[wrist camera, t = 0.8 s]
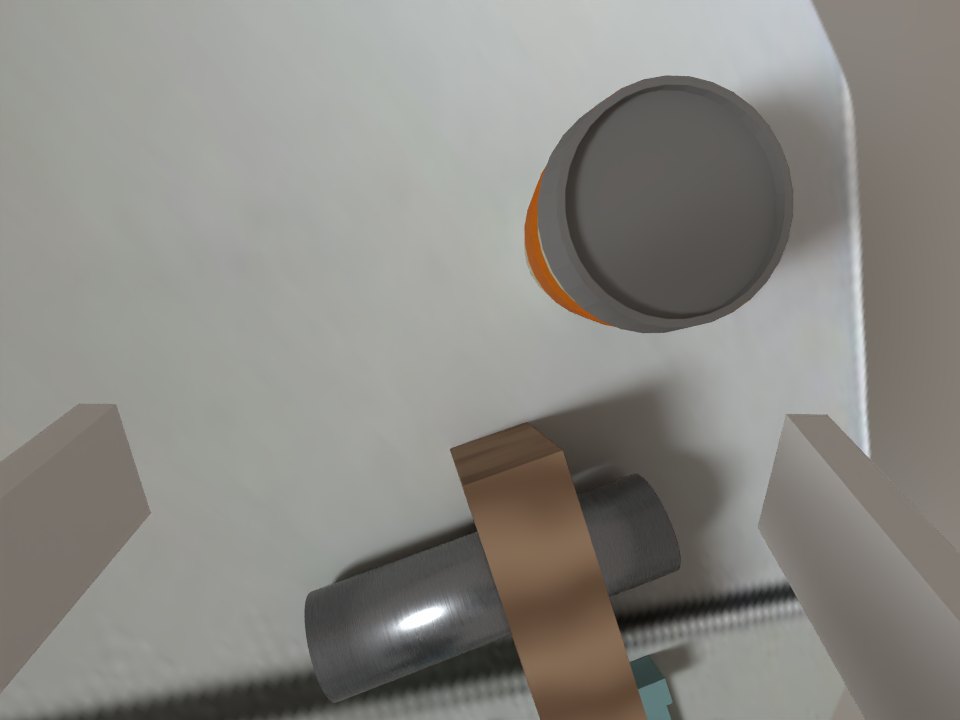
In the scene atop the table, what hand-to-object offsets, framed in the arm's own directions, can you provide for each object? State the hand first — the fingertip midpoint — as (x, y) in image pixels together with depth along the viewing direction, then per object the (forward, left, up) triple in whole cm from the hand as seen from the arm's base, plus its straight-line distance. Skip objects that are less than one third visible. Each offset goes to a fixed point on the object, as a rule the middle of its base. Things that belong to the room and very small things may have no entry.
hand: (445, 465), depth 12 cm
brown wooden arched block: (-15, -3, -30) cm, 34 cm away
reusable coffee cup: (+5, -14, -30) cm, 34 cm away
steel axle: (-15, 0, -31) cm, 34 cm away
